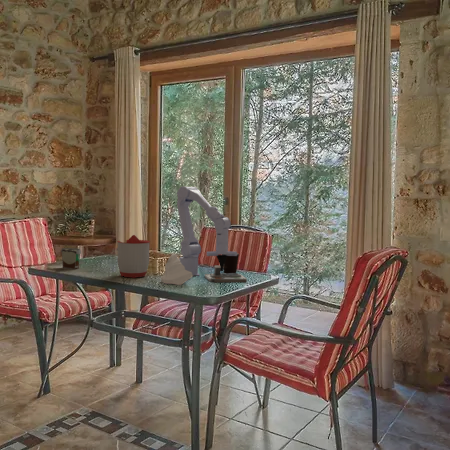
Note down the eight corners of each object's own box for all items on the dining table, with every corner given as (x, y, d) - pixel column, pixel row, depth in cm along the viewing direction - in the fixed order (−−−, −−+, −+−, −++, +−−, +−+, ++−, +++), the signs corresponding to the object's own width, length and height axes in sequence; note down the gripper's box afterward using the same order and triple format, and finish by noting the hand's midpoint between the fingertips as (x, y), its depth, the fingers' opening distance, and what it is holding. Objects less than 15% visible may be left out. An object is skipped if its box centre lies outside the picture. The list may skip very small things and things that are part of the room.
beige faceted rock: (167, 289, 221) (159, 258, 220) (161, 286, 236) (154, 256, 235) (194, 281, 225) (186, 250, 224) (187, 278, 239) (179, 249, 238)
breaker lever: (213, 276, 240) (214, 266, 240) (212, 275, 243) (212, 265, 243) (222, 276, 241) (222, 266, 241) (220, 275, 244) (221, 265, 244)
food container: (86, 268, 263) (86, 249, 262) (77, 269, 258) (77, 250, 257) (70, 265, 269) (70, 247, 269) (60, 267, 264) (61, 248, 264)
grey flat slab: (209, 281, 236) (209, 276, 235) (204, 276, 247) (204, 272, 247) (246, 280, 239) (246, 276, 239) (240, 276, 251) (240, 272, 251)
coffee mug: (236, 274, 257) (237, 255, 256) (220, 273, 258) (220, 254, 258) (240, 271, 268) (241, 252, 267) (224, 270, 270) (225, 251, 269)
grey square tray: (211, 282, 233) (211, 279, 233) (205, 276, 249) (205, 273, 249) (246, 282, 236) (246, 279, 236) (237, 276, 252) (237, 273, 252)
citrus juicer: (129, 271, 256) (129, 232, 254) (156, 275, 247) (156, 235, 245) (106, 275, 242) (107, 234, 241) (134, 280, 233) (135, 237, 232)
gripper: (208, 243, 236) (208, 272, 237) (238, 243, 239) (238, 272, 240) (206, 242, 243) (205, 270, 244) (235, 242, 246) (234, 269, 247)
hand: (221, 270), depth 243 cm, fingers closed
